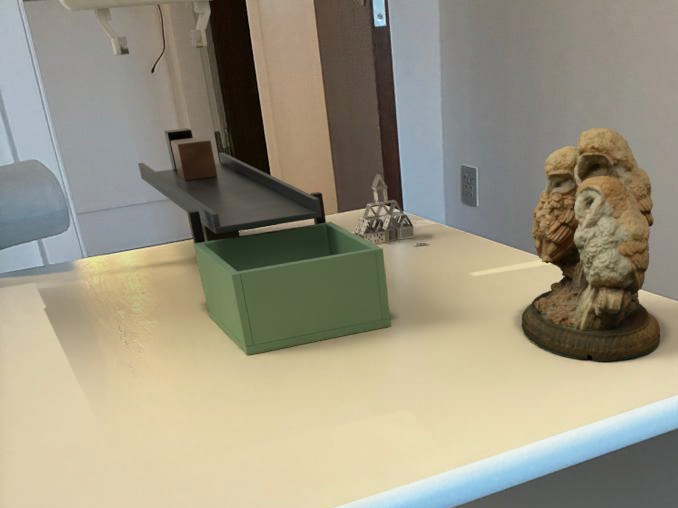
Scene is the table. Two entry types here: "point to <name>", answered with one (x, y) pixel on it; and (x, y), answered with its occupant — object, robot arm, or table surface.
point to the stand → (205, 234)
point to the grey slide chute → (232, 194)
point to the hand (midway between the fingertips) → (161, 51)
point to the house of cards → (384, 221)
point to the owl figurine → (594, 252)
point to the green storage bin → (293, 286)
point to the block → (194, 158)
